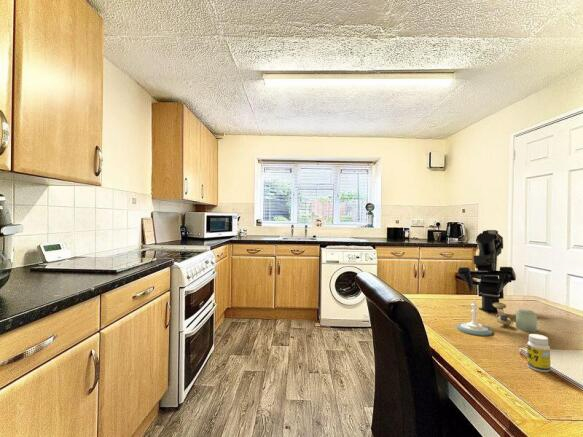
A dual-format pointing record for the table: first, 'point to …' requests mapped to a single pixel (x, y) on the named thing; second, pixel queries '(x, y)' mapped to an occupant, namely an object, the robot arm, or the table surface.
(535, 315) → the sage cup
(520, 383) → the table surface
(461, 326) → the dish
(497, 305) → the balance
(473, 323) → the chess piece
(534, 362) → the supplement bottle
